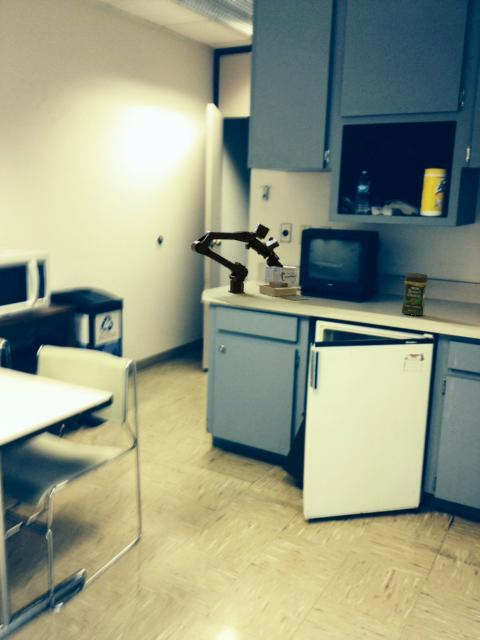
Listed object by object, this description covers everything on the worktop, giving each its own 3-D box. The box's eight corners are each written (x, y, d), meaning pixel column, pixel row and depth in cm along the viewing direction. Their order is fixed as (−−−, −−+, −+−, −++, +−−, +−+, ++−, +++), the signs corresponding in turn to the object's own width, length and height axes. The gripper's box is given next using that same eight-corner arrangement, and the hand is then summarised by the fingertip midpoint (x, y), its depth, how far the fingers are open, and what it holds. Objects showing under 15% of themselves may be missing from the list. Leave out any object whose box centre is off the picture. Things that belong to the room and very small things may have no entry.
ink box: (278, 287, 341) (280, 266, 339) (280, 286, 346) (282, 265, 343) (294, 289, 339) (295, 267, 336) (296, 287, 343) (297, 266, 341)
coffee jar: (399, 314, 276) (403, 273, 272) (403, 312, 283) (407, 271, 279) (421, 317, 271) (426, 275, 268) (425, 314, 278) (429, 273, 275)
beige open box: (277, 297, 309) (277, 289, 308) (255, 291, 324) (256, 284, 323) (300, 295, 317) (300, 287, 317) (278, 290, 332) (279, 282, 331)
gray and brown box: (279, 295, 315) (279, 283, 314) (268, 292, 323) (269, 281, 321) (287, 294, 318) (287, 283, 317) (276, 292, 326) (277, 280, 324)
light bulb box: (276, 283, 359) (277, 264, 357) (285, 284, 355) (286, 265, 353) (263, 284, 352) (264, 265, 350) (272, 286, 347) (273, 266, 345)
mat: (293, 300, 301) (293, 299, 301) (281, 297, 308) (282, 296, 308) (309, 299, 307) (309, 298, 307) (297, 296, 314) (297, 295, 314)
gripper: (272, 242, 309) (295, 259, 316) (265, 228, 325) (287, 244, 332) (258, 259, 312) (280, 275, 319) (252, 243, 328) (273, 259, 335)
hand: (281, 263), depth 326 cm, fingers open, 9 cm apart
